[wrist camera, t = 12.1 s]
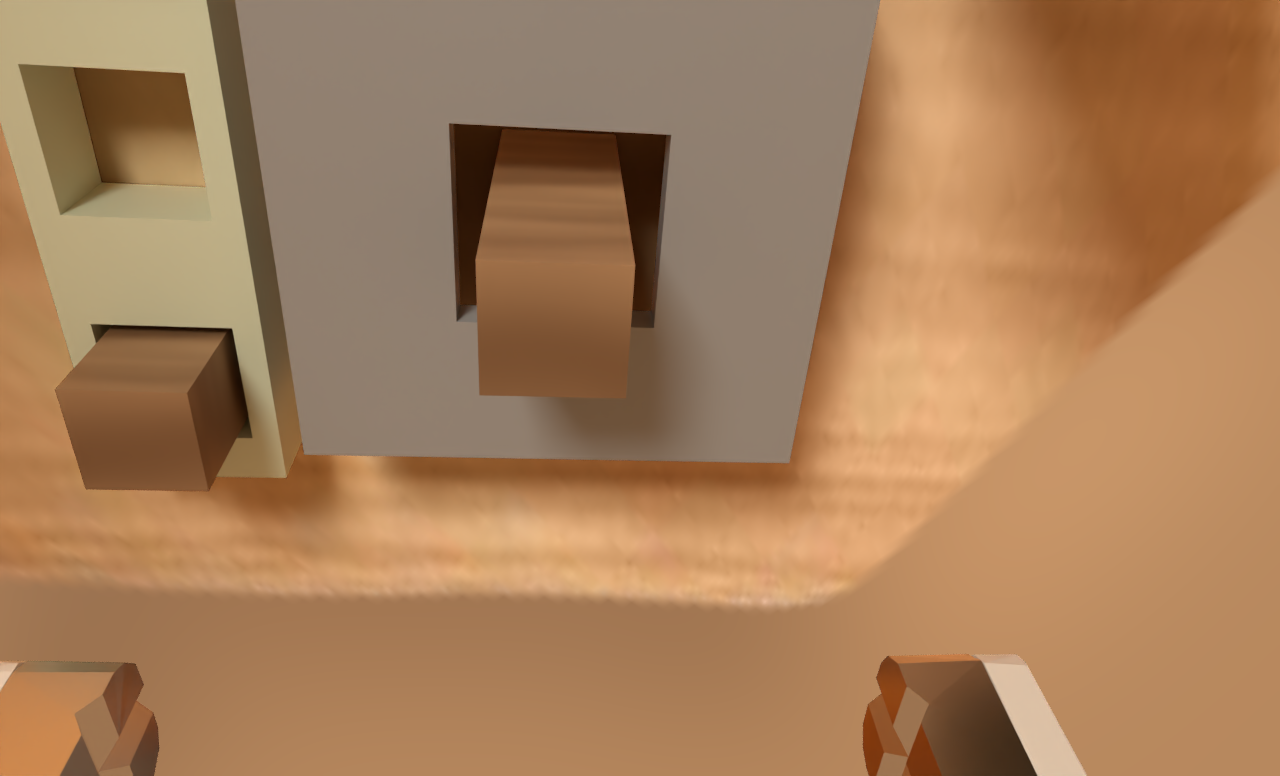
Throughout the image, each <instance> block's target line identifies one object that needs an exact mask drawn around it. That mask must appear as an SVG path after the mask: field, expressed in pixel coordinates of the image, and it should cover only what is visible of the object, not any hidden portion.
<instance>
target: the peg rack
mask: <svg viewBox="0 0 1280 776" xmlns="http://www.w3.org/2000/svg"><path fill="white" fill-rule="evenodd" d="M73 67H83V68H101V69H119V70H137V71H155V72H173V73H185V78H186V84H187V89H188V94H189V100H190V105H191V110H192V116H193V121H194V126H195V132H196V137H197V142H198V148H199V153H200V159H201V164H202V169H203V175H204V180H205V185H206V187H193V186H171V185H148V184H125V183H103V182H102V181H101V177H100V173H99V169H98V165H97V161H96V157H95V153H94V149H93V145H92V141H91V137H90V133H89V129H88V125H87V121H86V117H85V113H84V109H83V105H82V101H81V97H80V93H79V89H78V85H77V81H76V77H75V73H74V69H73ZM0 123H1V127H2V130H3V133H4V137H5V140H6V143H7V147H8V150H9V153H10V157H11V160H12V163H13V167H14V170H15V173H16V177H17V180H18V183H19V187H20V190H21V194H22V197H23V200H24V204H25V207H26V210H27V214H28V217H29V220H30V224H31V227H32V230H33V234H34V237H35V240H36V244H37V247H38V250H39V254H40V257H41V260H42V264H43V267H44V271H45V274H46V277H47V281H48V284H49V287H50V291H51V294H52V297H53V301H54V304H55V307H56V311H57V314H58V317H59V321H60V324H61V327H62V331H63V334H64V337H65V341H66V344H67V348H68V351H69V354H70V358H71V361H72V364H73V368H75V366H76V365H77V364H78V363H79V362H80V361H81V360H82V359H83V357H84V356H85V355H86V354H87V353H88V352H89V351H90V350H91V348H92V347H93V346H94V345H95V344H96V343H97V342H98V341H99V340H100V338H101V337H102V336H103V335H104V334H105V333H106V332H107V331H108V329H109V328H110V327H111V326H112V325H138V326H171V327H204V328H232V330H233V335H234V341H235V346H236V351H237V357H238V362H239V367H240V373H241V378H242V383H243V389H244V394H245V400H246V405H247V410H248V418H247V420H246V422H245V423H244V425H243V427H242V429H241V431H240V433H239V435H238V437H237V438H236V440H235V442H234V444H233V446H232V448H231V450H230V452H229V454H228V455H227V457H226V459H225V461H224V463H223V465H222V467H221V469H220V471H219V472H218V474H217V476H216V477H254V478H287V476H288V473H289V471H290V468H291V466H292V464H293V461H294V459H295V457H296V454H297V452H298V450H299V447H300V445H301V443H302V437H301V431H300V424H299V418H298V411H297V404H296V398H295V391H294V385H293V378H292V372H291V365H290V358H289V352H288V345H287V339H286V332H285V326H284V319H283V312H282V306H281V299H280V293H279V286H278V280H277V273H276V266H275V260H274V253H273V247H272V240H271V234H270V227H269V220H268V214H267V207H266V201H265V194H264V188H263V181H262V174H261V168H260V161H259V155H258V148H257V142H256V135H255V128H254V122H253V115H252V109H251V102H250V96H249V89H248V82H247V76H246V69H245V63H244V56H243V49H242V43H241V36H240V30H239V23H238V17H237V10H236V3H235V0H0Z"/></svg>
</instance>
